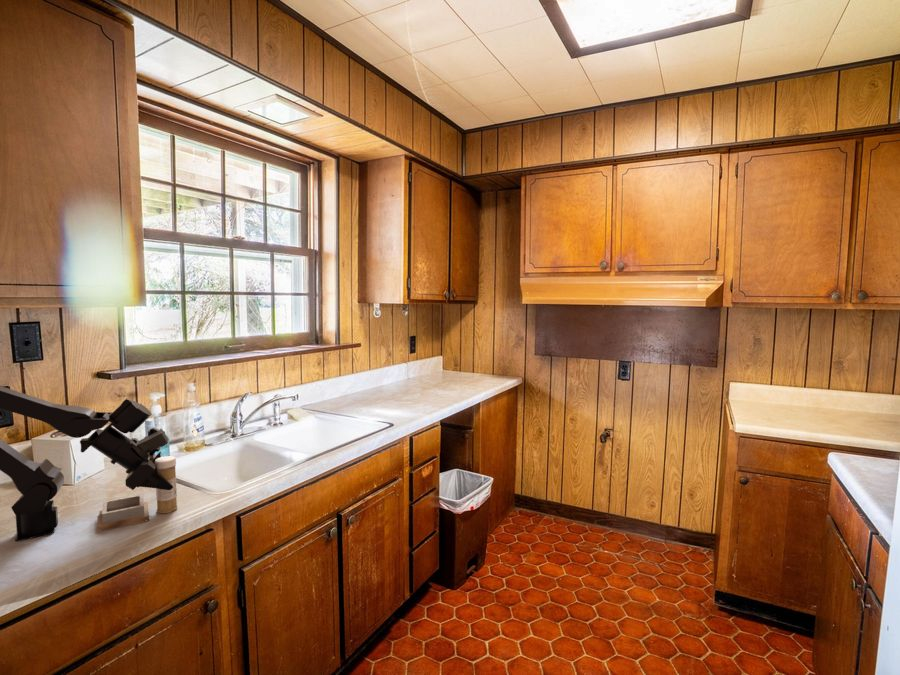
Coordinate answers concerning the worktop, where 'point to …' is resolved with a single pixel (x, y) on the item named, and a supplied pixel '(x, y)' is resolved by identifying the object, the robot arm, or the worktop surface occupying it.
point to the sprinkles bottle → (167, 470)
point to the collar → (122, 509)
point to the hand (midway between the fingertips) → (172, 483)
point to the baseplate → (123, 522)
